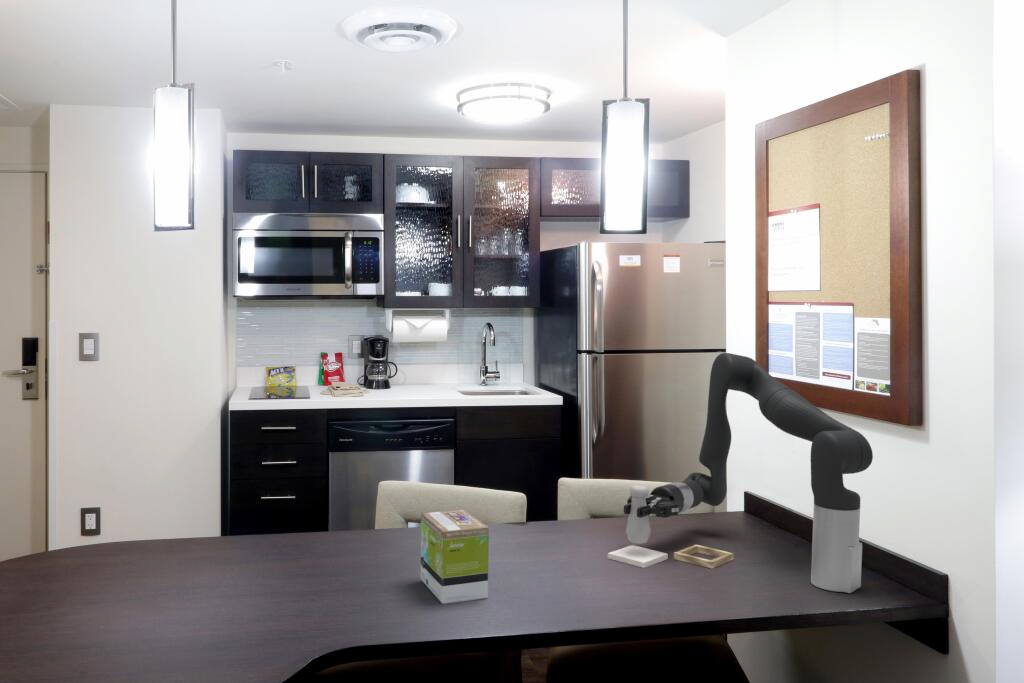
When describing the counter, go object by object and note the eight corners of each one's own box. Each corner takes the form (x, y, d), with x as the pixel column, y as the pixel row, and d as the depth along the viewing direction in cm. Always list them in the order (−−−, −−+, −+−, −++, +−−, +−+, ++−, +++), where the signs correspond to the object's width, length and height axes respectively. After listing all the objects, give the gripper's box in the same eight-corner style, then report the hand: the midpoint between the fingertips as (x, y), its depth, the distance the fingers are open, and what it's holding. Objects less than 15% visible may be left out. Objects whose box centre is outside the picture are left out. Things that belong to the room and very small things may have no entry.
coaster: (667, 558, 191) (667, 553, 191) (643, 568, 184) (643, 562, 183) (632, 549, 198) (632, 544, 198) (607, 558, 190) (607, 553, 190)
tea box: (418, 581, 171) (419, 511, 171) (463, 576, 175) (465, 507, 175) (441, 605, 157) (442, 529, 157) (489, 599, 161) (491, 525, 161)
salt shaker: (650, 538, 193) (651, 483, 193) (651, 545, 188) (653, 489, 187) (625, 536, 194) (626, 482, 193) (626, 544, 188) (627, 488, 188)
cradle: (733, 559, 191) (733, 553, 191) (712, 568, 184) (712, 562, 184) (695, 550, 198) (695, 544, 198) (673, 559, 191) (673, 552, 191)
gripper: (648, 479, 205) (607, 490, 193) (697, 489, 196) (658, 500, 183) (647, 508, 206) (606, 521, 193) (696, 519, 196) (657, 533, 184)
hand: (631, 511), depth 188 cm, fingers closed on salt shaker, 3 cm apart
